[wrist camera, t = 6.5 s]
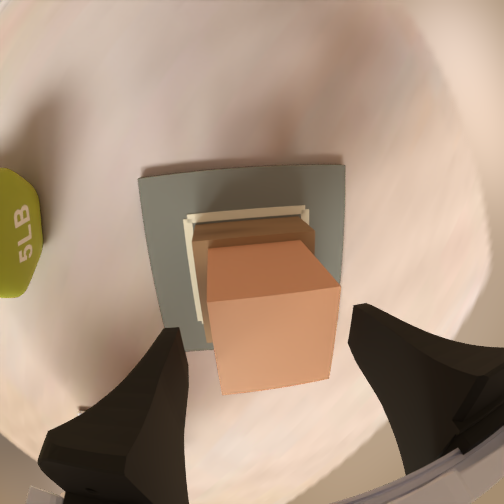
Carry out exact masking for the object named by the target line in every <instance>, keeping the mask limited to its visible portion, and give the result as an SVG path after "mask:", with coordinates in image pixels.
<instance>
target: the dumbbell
mask: <svg viewBox="0 0 504 504" xmlns="http://www.w3.org/2000/svg"><path fill="white" fill-rule="evenodd" d="M42 247H43V235H42V225H41V215H40V204H39V198H38V194H37V192H36V190H35V189H34V188H33V186H32V185H31V184H30V183H28V182H27V181H26V180H25V179H24V178H22V177H21V176H20V175H18V174H17V173H15V172H14V171H12V170H10V169H8V168H0V298H15V297H19V296H21V295H22V294H24V292H25V291H26V289H27V287H28V285H29V283H30V281H31V279H32V276H33V273H34V271H35V268H36V266H37V263H38V261H39V258H40V255H41V252H42Z"/></svg>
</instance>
